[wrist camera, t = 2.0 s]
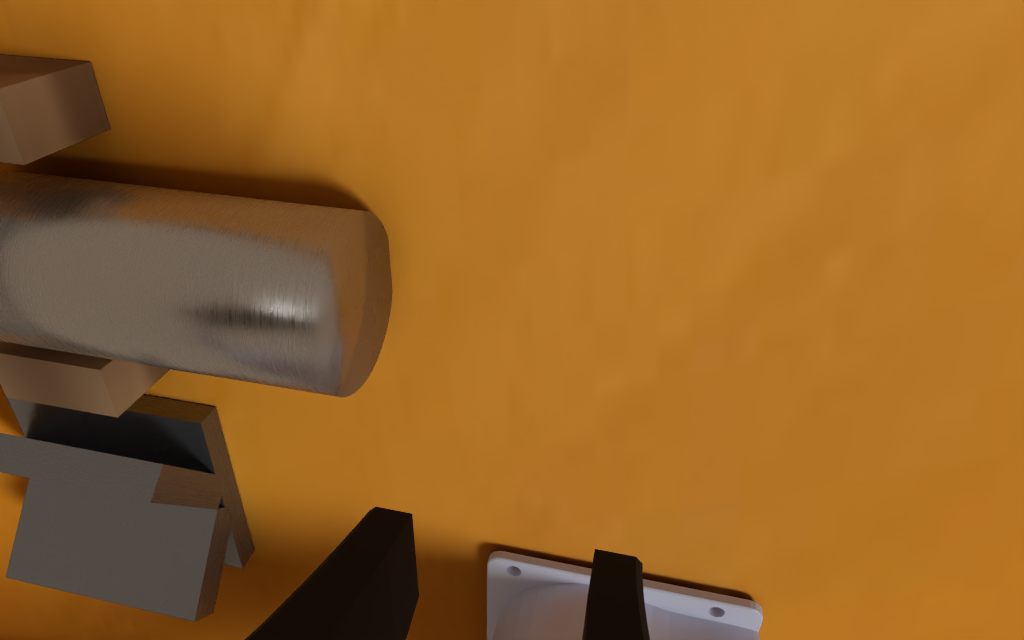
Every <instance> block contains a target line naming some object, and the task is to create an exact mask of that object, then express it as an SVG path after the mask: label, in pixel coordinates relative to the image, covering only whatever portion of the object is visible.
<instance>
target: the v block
mask: <svg viewBox="0 0 1024 640" xmlns="http://www.w3.org/2000/svg"><path fill="white" fill-rule="evenodd" d="M7 399H8V401H9V403H10V405H11V408H12V410H13V412H14V414H15V416H16V418H17V420H18V422H19V424H20V427H21V429H22V431H23V433H24V435H25V437H26V438H24V437H19V436H13V435H8V434H3V433H0V472H3V473H7V474H12V475H17V476H22V477H27V478H29V482H28V486H27V490H26V494H25V498H24V503H23V507H22V511H21V515H20V519H19V524H18V528H17V532H16V536H15V540H14V545H13V549H12V553H11V557H10V561H9V566H8V570H7V574H6V578H10V579H15V580H19V581H23V582H27V583H32V584H36V585H40V586H44V587H49V588H53V589H57V590H61V591H66V592H70V593H74V594H79V595H83V596H87V597H91V598H96V599H100V600H104V601H108V602H113V603H117V604H121V605H125V606H130V607H134V608H138V609H142V610H147V611H151V612H155V613H160V614H164V615H168V616H172V617H177V618H181V619H185V620H189V621H194V622H195V621H197V620H199V619H201V618H203V617H206V616H208V615H210V614H212V613H214V609H215V604H216V599H217V594H218V589H219V584H220V579H221V574H222V569H223V564H224V565H229V566H233V567H238V568H242V569H243V567H244V566H245V564H246V563H247V561H248V560H249V558H250V557H251V555H252V554H253V552H254V547H253V544H252V540H251V536H250V532H249V529H248V525H247V521H246V518H245V514H244V510H243V506H242V503H241V499H240V495H239V491H238V488H237V484H236V480H235V477H234V473H233V469H232V465H231V462H230V458H229V454H228V451H227V447H226V443H225V439H224V436H223V432H222V428H221V425H220V421H219V417H218V413H217V410H216V407H212V406H206V405H200V404H195V403H189V402H183V401H177V400H172V399H166V398H160V397H154V396H148V395H142V396H141V397H140V398H139V399H137V400H136V401H135V402H134V403H133V404H132V405H131V406H130V407H129V408H128V409H127V410H126V411H124V412H123V413H122V414H121V415H120V416H119V417H118V418H117V417H112V416H106V415H101V414H95V413H90V412H84V411H79V410H73V409H68V408H62V407H57V406H51V405H46V404H40V403H35V402H29V401H24V400H18V399H13V398H7Z"/></svg>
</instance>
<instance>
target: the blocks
mask: <svg viewBox="0 0 1024 640" xmlns="http://www.w3.org/2000/svg"><path fill="white" fill-rule="evenodd" d="M109 129H110V126H109V123H108V119H107V116H106V113H105V109H104V106H103V102H102V99H101V96H100V92H99V89H98V85H97V82H96V78H95V75H94V72H93V68H92V65H91V62H87V61H75V60H62V59H50V58H37V57H25V56H12V55H0V162H1V163H10V164H19V165H26V164H28V163H31V162H33V161H35V160H38V159H40V158H43V157H45V156H47V155H50V154H52V153H54V152H57V151H59V150H62V149H64V148H66V147H69V146H71V145H74V144H76V143H78V142H81V141H83V140H85V139H88V138H90V137H93V136H95V135H97V134H100V133H102V132H104V131H107V130H109ZM169 370H170V369H166V368H160V367H154V366H148V365H142V364H136V363H130V362H124V361H118V360H112V359H106V358H100V357H94V356H88V355H81V354H75V353H69V352H63V351H57V350H51V349H45V348H39V347H33V346H27V345H21V344H15V343H9V342H3V341H0V384H1V386H2V389H3V391H4V393H5V395H6V397H7V398H13V399H18V400H24V401H29V402H35V403H40V404H46V405H51V406H57V407H62V408H68V409H73V410H79V411H84V412H90V413H95V414H101V415H106V416H112V417H117V418H118V417H119V416H120V415H121V414H122V413H123V412H124V411H126V410H127V409H128V408H129V407H130V406H131V405H132V404H133V403H134V402H135V401H136V400H137V399H139V398H140V397H141V396H142V395H143V394H144V393H145V392H146V391H147V390H148V389H149V388H150V387H151V386H153V385H154V384H155V383H156V382H157V381H158V380H159V379H160V378H161V377H162V376H163V375H164V374H166V373H167V372H168V371H169Z"/></svg>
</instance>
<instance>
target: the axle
mask: <svg viewBox="0 0 1024 640" xmlns="http://www.w3.org/2000/svg"><path fill="white" fill-rule="evenodd" d="M391 302H392V279H391V267H390V255H389V243H388V237H387V233H386V231H385V228H384V226H383V224H382V223H381V221H380V220H379V219H378V217H377V216H376V215H374V214H373V213H371V212H368V211H361V210H352V209H343V208H335V207H326V206H317V205H308V204H299V203H291V202H282V201H273V200H264V199H256V198H247V197H238V196H229V195H220V194H212V193H203V192H194V191H185V190H176V189H168V188H159V187H150V186H141V185H133V184H124V183H115V182H106V181H97V180H89V179H80V178H71V177H62V176H54V175H45V174H36V173H27V172H18V171H10V170H1V169H0V341H3V342H9V343H15V344H21V345H27V346H33V347H39V348H45V349H51V350H57V351H63V352H69V353H75V354H81V355H88V356H94V357H100V358H106V359H112V360H118V361H124V362H130V363H136V364H142V365H148V366H154V367H160V368H166V369H173V370H179V371H185V372H191V373H197V374H203V375H209V376H215V377H221V378H227V379H233V380H239V381H245V382H252V383H258V384H264V385H270V386H276V387H282V388H288V389H294V390H300V391H306V392H312V393H318V394H324V395H330V396H337V397H347V396H350V395H352V394H354V393H355V392H356V391H357V390H358V389H360V387H361V386H362V385H363V384H364V383H365V381H366V380H367V378H368V377H369V375H370V373H371V372H372V370H373V368H374V366H375V364H376V361H377V359H378V356H379V354H380V351H381V348H382V345H383V342H384V338H385V335H386V331H387V326H388V322H389V316H390V310H391Z"/></svg>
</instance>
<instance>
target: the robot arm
mask: <svg viewBox="0 0 1024 640" xmlns="http://www.w3.org/2000/svg"><path fill="white" fill-rule="evenodd" d="M418 597H419V592H418V580H417V568H416V555H415V543H414V531H413V519H412V514H410V513H405V512H400V511H395V510H390V509H385V508H379V507H375V508H373V509H372V510H370V511H369V512H368V513H367V514H366V515H365V517H364V518H363V519H362V520H361V521H360V522H359V523H358V525H357V526H356V527H355V528H354V529H353V530H352V531H351V532H350V533H349V535H348V536H347V537H346V538H345V539H344V540H343V541H342V542H341V543H340V545H339V546H338V547H337V548H336V549H335V550H334V551H333V552H332V553H331V554H330V555H329V556H328V557H327V559H326V560H325V561H324V562H323V563H322V564H321V565H320V566H319V567H318V568H317V569H316V570H315V571H314V572H313V573H312V574H311V575H310V577H309V578H308V579H307V580H306V581H305V582H304V583H303V584H302V585H301V586H300V587H299V588H298V589H297V590H296V591H295V592H294V593H293V594H292V595H291V596H290V597H289V598H288V599H287V600H286V601H285V602H284V603H283V604H282V605H281V606H280V607H279V608H278V609H277V610H276V611H275V612H274V613H273V614H272V615H271V616H270V617H269V618H268V619H267V620H266V621H265V622H264V623H262V624H261V625H260V626H259V627H258V628H257V629H256V630H255V631H254V632H253V633H252V634H251V635H250V636H248V637H247V638H246V639H245V640H406V637H407V634H408V631H409V627H410V624H411V621H412V617H413V614H414V611H415V607H416V604H417V601H418ZM762 621H763V615H762V608H761V606H760V605H759V604H757V603H756V602H754V601H751V600H747V599H742V598H737V597H732V596H727V595H722V594H717V593H712V592H707V591H702V590H697V589H692V588H687V587H682V586H677V585H672V584H667V583H662V582H656V581H651V580H646V579H643V576H642V563H641V562H640V561H639V560H638V559H637V557H634V556H628V555H623V554H618V553H613V552H608V551H602V550H597V549H595V553H594V559H593V565H592V569H591V568H586V567H581V566H576V565H570V564H565V563H560V562H555V561H550V560H545V559H540V558H535V557H530V556H525V555H520V554H515V553H510V552H505V551H495V552H493V553H491V554H490V556H489V559H488V563H487V640H759V629H760V626H761V624H762Z"/></svg>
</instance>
